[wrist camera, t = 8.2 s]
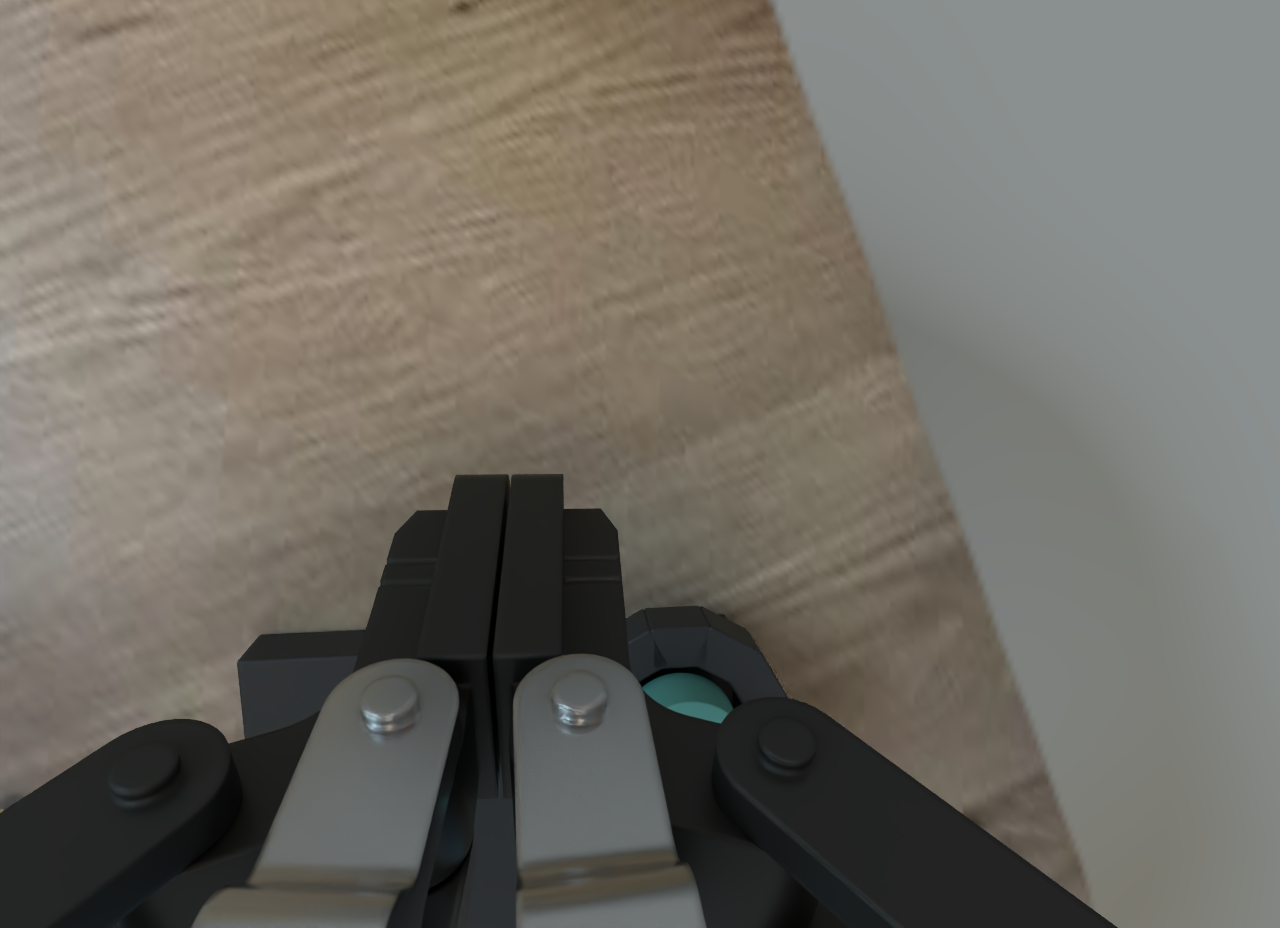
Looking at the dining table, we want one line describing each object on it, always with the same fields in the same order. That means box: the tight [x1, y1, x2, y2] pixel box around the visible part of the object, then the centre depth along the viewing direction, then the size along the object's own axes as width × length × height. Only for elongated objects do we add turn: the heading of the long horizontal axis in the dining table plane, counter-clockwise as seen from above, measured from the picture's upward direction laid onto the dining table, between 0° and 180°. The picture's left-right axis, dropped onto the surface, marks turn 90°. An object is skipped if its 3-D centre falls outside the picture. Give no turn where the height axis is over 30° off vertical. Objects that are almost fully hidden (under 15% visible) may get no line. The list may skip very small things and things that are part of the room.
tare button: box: [642, 673, 733, 723], centre depth 22 cm, size 3×3×2 cm
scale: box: [237, 606, 787, 928], centre depth 24 cm, size 15×13×4 cm
